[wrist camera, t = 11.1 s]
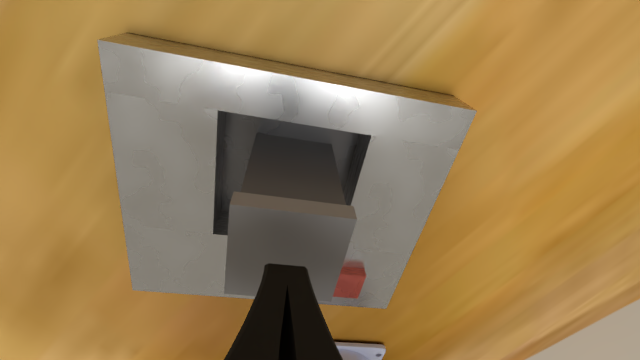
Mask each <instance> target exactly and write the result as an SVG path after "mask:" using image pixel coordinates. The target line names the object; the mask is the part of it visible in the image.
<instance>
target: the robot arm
mask: <svg viewBox="0 0 640 360" xmlns="http://www.w3.org/2000/svg"><path fill="white" fill-rule="evenodd" d="M385 352H386V349H385V346H384V345H381V344H365V343H346V342H334V340H333V338H332V336H331V333H330V331H329V329H328V327H327V324H326V322H325V319H324V317H323V315H322V312H321V310H320V307H319V305H318V302H317V299H316V296H315V294H314V291H313V288H312V284H311V281H310V277H309V274H308V269H307V268H306V267H304V266H293V265H282V264H272V263H268V264H266V265H265V266H264V272H263V276H262V280H261V283H260V286H259V289H258V292H257V294H256V297H255V299H254V302H253V304H252V306H251V308H250V311H249V313H248V315H247V317H246V319H245V321H244V324H243V326H242V327H241V329H240V331H239V333H238V335H237V337H236V339H235V341H234V343H233V345H232V347H231V348H230V350H229V352H228V354H227V355H226V357H225V359H224V360H382V358H383V356H384V354H385Z"/></svg>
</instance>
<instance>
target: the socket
mask: <svg viewBox="0 0 640 360" xmlns="http://www.w3.org/2000/svg"><path fill="white" fill-rule="evenodd" d="M98 47H99V54H100V62H101V69H102V76H103V83H104V90H105V97H106V104H107V111H108V118H109V125H110V132H111V140H112V147H113V154H114V161H115V168H116V175H117V182H118V189H119V196H120V203H121V210H122V218H123V225H124V232H125V239H126V246H127V253H128V260H129V267H130V274H131V281H132V288H133V290H138V291H152V292H165V293H179V294H192V295H206V296H220V297H233V298H247V299H255V297H256V296H247V295H234V294H224V285H225V269H226V254H227V238H228V223H229V207H230V202H231V198H232V195H233V192H234V191H235V192H241V188H242V184H243V181H244V177H245V173H246V170H247V166H248V162H249V159H250V155H251V151H252V148H253V144H254V140H255V137H256V133H262V134H269V135H275V136H282V137H288V138H295V139H301V140H308V141H314V142H321V143H327V144H331V145H332V149H333V153H334V157H335V161H336V165H337V170H338V174H339V178H340V182H341V186H342V190H343V195H344V199H345V203H346V205H348V206H354V209H355V213H356V217H357V222H356V225H355V228H354V231H353V234H352V237H351V240H350V244H349V247H348V250H347V253H346V256H345V259H344V262H343V266H342V269H341V272H340V275H339V278H338V281H337V284H336V288H335V291H334V294H333V297H332V300H331V302H329V301H317V302H318V304H328V305H342V306H355V307H369V308H383V309H386V308H387V306H388V303H389V301H390V299H391V297H392V295H393V293H394V290H395V288H396V286H397V284H398V282H399V279H400V277H401V275H402V273H403V271H404V269H405V266H406V264H407V262H408V260H409V258H410V256H411V253H412V251H413V249H414V247H415V245H416V242H417V240H418V238H419V236H420V234H421V232H422V229H423V227H424V225H425V223H426V221H427V218H428V216H429V214H430V212H431V210H432V208H433V205H434V203H435V201H436V199H437V197H438V195H439V192H440V190H441V188H442V186H443V184H444V181H445V179H446V177H447V175H448V173H449V171H450V168H451V166H452V164H453V162H454V160H455V158H456V155H457V153H458V151H459V149H460V147H461V144H462V142H463V140H464V138H465V136H466V134H467V131H468V129H469V127H470V125H471V123H472V120H473V118H474V116H475V114H476V112H477V111H476V110H475V109H473V108H472V107H470V106H469V105H467V104H466V103H464V102H462V101H461V100H459V99H458V98H456V97H455V96H453V95H448V94H442V93H437V92H432V91H427V90H422V89H417V88H411V87H406V86H401V85H396V84H391V83H386V82H380V81H375V80H370V79H365V78H360V77H355V76H349V75H344V74H339V73H334V72H329V71H323V70H318V69H313V68H308V67H303V66H298V65H292V64H287V63H282V62H277V61H272V60H267V59H261V58H256V57H251V56H246V55H241V54H236V53H230V52H225V51H220V50H215V49H210V48H205V47H199V46H194V45H189V44H184V43H179V42H174V41H168V40H163V39H158V38H153V37H148V36H143V35H137V34H132V33H124V34H119V35H115V36H111V37H107V38H103V39H99V40H98Z"/></svg>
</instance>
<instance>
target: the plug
mask: <svg viewBox="0 0 640 360" xmlns="http://www.w3.org/2000/svg"><path fill="white" fill-rule="evenodd" d="M356 222H357V217H356V213H355V209H354V206H348V205H346V203H345V199H344V195H343V190H342V186H341V182H340V178H339V174H338V170H337V165H336V161H335V157H334V153H333V149H332V145H331V144H327V143H321V142H314V141H308V140H301V139H295V138H288V137H282V136H275V135H269V134H262V133H256V137H255V140H254V144H253V148H252V151H251V155H250V159H249V162H248V166H247V170H246V173H245V177H244V181H243V184H242V188H241V192H235V191H234V192H233V195H232V198H231V202H230V207H229V223H228V238H227V254H226V269H225V285H224V294H234V295H247V296H256V294H257V292H258V289H259V286H260V283H261V280H262V276H263V272H264V266H265V265H266V264H268V263H272V264H282V265H293V266H304V267H306V268H307V269H308V274H309V277H310V281H311V284H312V288H313V291H314V294H315V296H316V299H317V301H329V302H331V300H332V297H333V294H334V291H335V288H336V284H337V281H338V278H339V275H340V272H341V269H342V266H343V262H344V259H345V256H346V253H347V250H348V247H349V244H350V240H351V237H352V234H353V231H354V228H355V225H356Z"/></svg>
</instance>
